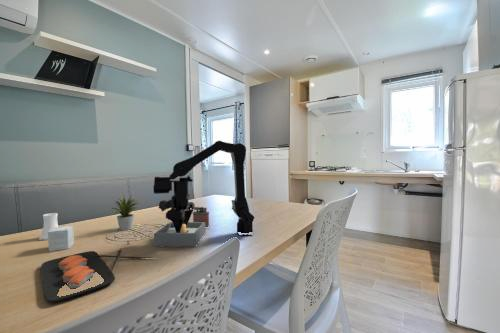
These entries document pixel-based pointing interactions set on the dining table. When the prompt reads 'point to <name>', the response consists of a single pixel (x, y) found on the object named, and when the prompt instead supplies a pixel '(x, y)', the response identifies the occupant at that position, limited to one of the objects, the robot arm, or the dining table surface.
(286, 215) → the dining table surface
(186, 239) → the box
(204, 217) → the lighter
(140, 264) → the dining table surface
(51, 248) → the product box
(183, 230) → the peg
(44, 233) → the salt shaker
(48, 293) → the sushi plate
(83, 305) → the dining table surface
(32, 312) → the dining table surface
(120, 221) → the house plant
